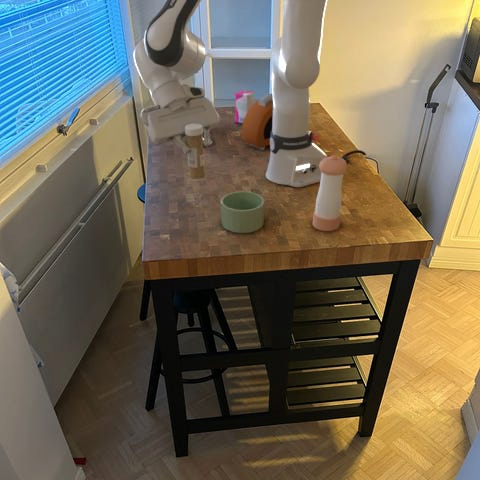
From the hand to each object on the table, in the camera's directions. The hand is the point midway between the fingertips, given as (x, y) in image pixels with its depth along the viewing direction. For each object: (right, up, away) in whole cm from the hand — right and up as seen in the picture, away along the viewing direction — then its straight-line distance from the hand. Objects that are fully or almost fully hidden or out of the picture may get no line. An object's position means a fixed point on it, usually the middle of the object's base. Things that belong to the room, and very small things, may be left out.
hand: (196, 149), depth 124 cm
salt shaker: (+35, -19, +6) cm, 40 cm away
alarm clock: (+23, +22, +53) cm, 62 cm away
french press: (-3, +22, +54) cm, 59 cm away
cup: (+12, -18, +7) cm, 22 cm away
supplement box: (+13, +37, +71) cm, 81 cm away
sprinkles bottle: (0, -6, +5) cm, 8 cm away
